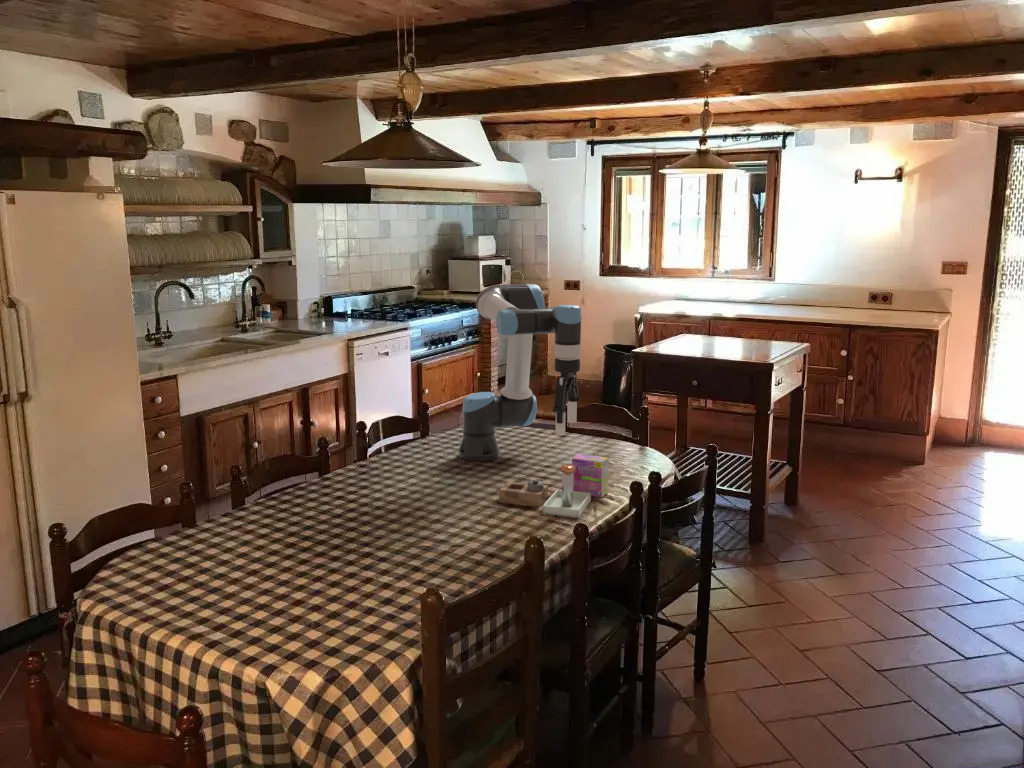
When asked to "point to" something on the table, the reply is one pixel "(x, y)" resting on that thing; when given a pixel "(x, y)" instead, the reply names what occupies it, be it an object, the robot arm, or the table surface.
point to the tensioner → (524, 493)
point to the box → (590, 474)
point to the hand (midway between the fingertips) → (566, 427)
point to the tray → (556, 508)
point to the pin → (567, 485)
